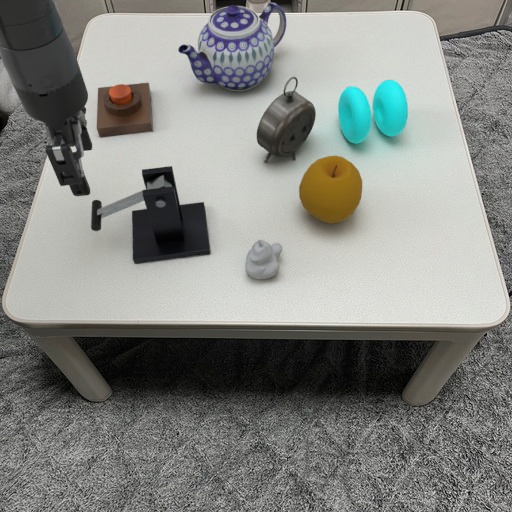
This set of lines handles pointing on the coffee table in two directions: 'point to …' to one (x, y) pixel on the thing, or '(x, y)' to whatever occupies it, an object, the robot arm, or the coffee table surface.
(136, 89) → the switch
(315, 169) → the apple
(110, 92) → the button
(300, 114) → the alarm clock
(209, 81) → the teapot
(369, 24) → the coffee table surface
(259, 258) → the grey swirled lump
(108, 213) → the t-handle lever
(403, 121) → the donuts
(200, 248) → the lever base
